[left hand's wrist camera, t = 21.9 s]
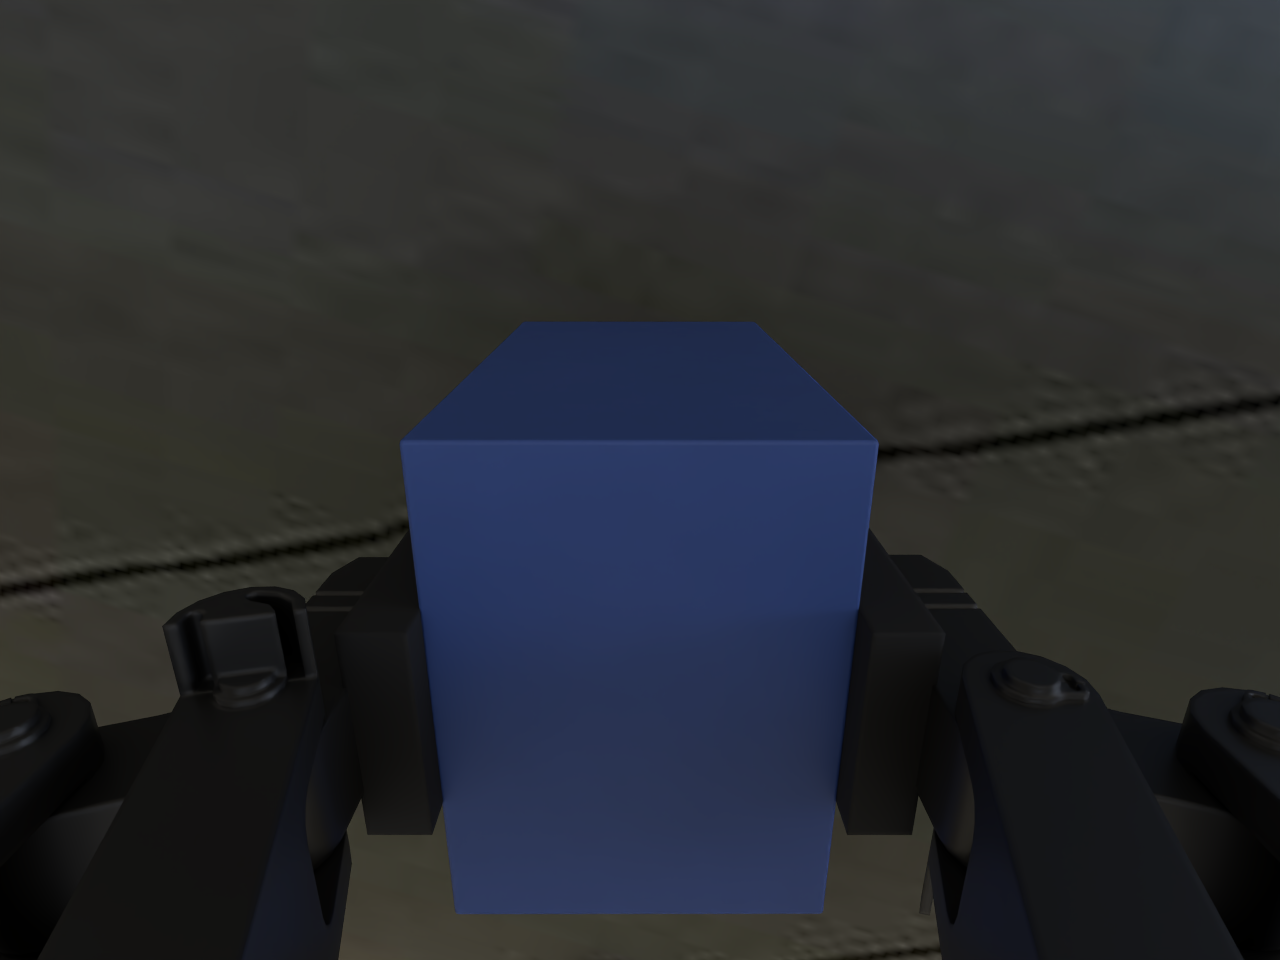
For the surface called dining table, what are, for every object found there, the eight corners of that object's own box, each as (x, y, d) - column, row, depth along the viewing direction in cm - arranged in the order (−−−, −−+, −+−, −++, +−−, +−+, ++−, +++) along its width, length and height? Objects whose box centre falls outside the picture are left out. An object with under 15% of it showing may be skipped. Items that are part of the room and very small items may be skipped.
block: (755, 321, 15) (880, 440, 7) (740, 597, 17) (823, 915, 10) (522, 321, 15) (398, 441, 7) (537, 597, 17) (454, 915, 10)
